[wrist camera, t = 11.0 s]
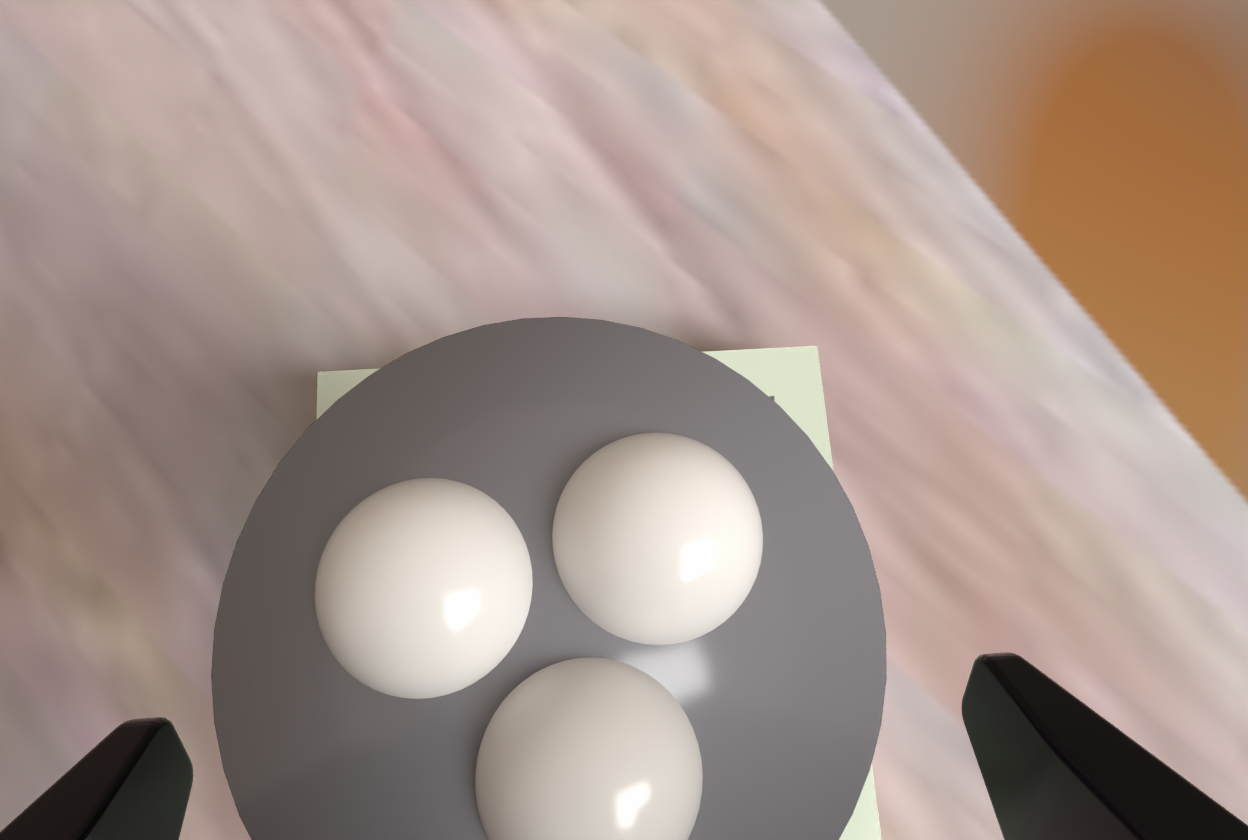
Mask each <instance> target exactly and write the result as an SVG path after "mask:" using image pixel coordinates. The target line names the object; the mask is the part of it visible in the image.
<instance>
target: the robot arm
mask: <svg viewBox="0 0 1248 840" xmlns="http://www.w3.org/2000/svg"><path fill="white" fill-rule="evenodd" d="M962 716H963V720H964V724H965V727H966V730H967V733H968V735H969V738H970V741H971V744H972V747H973V750H974V753H975V756H976V759H977V762H978V765H979V767H980V770H981V773H982V776H983V779H984V782H985V785H986V788H987V791H988V794H989V797H990V799H991V802H992V805H993V808H994V811H995V814H996V817H997V820H998V823H999V826H1000V829H1001V831H1002V834H1003V837H1004V840H1248V825H1246V824H1245V823H1244V822H1242V821H1241V820H1240V819H1238V818H1237V817H1236V816H1234V815H1233V814H1232V813H1230V812H1229V811H1228V810H1226V809H1225V808H1224V807H1222V806H1221V805H1220V804H1218V803H1217V802H1216V801H1214V800H1213V799H1212V798H1210V797H1209V796H1208V795H1206V794H1205V793H1204V792H1202V791H1201V790H1199V789H1198V788H1197V787H1195V786H1194V785H1193V784H1191V783H1190V782H1189V781H1187V780H1186V779H1185V778H1183V777H1182V776H1181V775H1179V774H1178V773H1177V772H1175V771H1174V770H1173V769H1171V768H1170V767H1169V766H1167V765H1166V764H1165V763H1163V762H1162V761H1161V760H1159V759H1158V758H1157V757H1155V756H1154V755H1153V754H1151V753H1150V752H1148V751H1147V750H1146V749H1144V748H1143V747H1142V746H1140V745H1139V744H1138V743H1136V742H1135V741H1134V740H1132V739H1131V738H1130V737H1128V736H1127V735H1126V734H1124V733H1123V732H1122V731H1120V730H1119V729H1118V728H1116V727H1115V726H1114V725H1112V724H1111V723H1110V722H1108V721H1107V720H1106V719H1104V718H1103V717H1101V716H1100V715H1099V714H1097V713H1096V712H1095V711H1093V710H1092V709H1091V708H1089V707H1088V706H1087V705H1085V704H1084V703H1083V702H1081V701H1080V700H1079V699H1077V698H1076V697H1075V696H1073V695H1072V694H1071V693H1069V692H1068V691H1067V690H1065V689H1064V688H1063V687H1061V686H1060V685H1059V684H1057V683H1056V682H1054V681H1053V680H1052V679H1050V678H1049V677H1048V676H1046V675H1045V674H1044V673H1042V672H1041V671H1040V670H1038V669H1037V668H1036V667H1034V666H1033V665H1032V664H1030V663H1029V662H1028V661H1026V660H1025V659H1024V658H1022V657H1021V656H1019V655H1017V654H1014V653H1007V652H1006V653H993V654H983V655H980V656H979V657H978V658H977V659H976V660H975V662H974V664H973V667H972V670H971V674H970V677H969V680H968V683H967V686H966V689H965V693H964V696H963V699H962ZM192 782H193V768H192V763H191V760H190V758H189V756H188V754H187V752H186V750H185V748H184V746H183V744H182V742H181V740H180V738H179V736H178V734H177V732H176V730H175V728H174V726H173V724H172V723H171V721H169V720H167V719H166V718H162V717H158V718H145V719H134V720H129V721H126V722H124V723H123V724H121V725H120V726H118V727H117V728H116V729H115V730H113V731H112V732H111V733H110V734H109V735H108V736H107V737H106V738H105V739H103V740H102V741H101V742H100V743H99V744H98V745H97V746H96V747H95V748H93V749H92V750H91V751H90V752H89V753H88V754H87V755H86V756H84V757H83V758H82V759H81V760H80V761H79V762H78V763H77V764H76V765H74V766H73V767H72V768H71V769H70V770H69V771H68V772H67V773H66V774H64V775H63V776H62V777H61V778H60V779H59V780H58V781H57V782H56V783H54V784H53V785H52V786H51V787H50V788H49V789H48V790H47V791H45V792H44V793H43V794H42V795H41V796H40V797H39V798H38V799H37V800H35V801H34V802H33V803H32V804H31V805H30V806H29V807H28V808H27V809H25V810H24V811H23V812H22V813H21V814H20V815H19V816H18V817H17V818H15V819H14V820H13V821H12V822H11V823H10V824H9V825H8V826H6V827H5V828H4V829H3V830H2V831H1V832H0V840H179V836H180V832H181V828H182V824H183V820H184V816H185V812H186V808H187V804H188V800H189V795H190V791H191V787H192Z"/></svg>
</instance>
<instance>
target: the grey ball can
mask: <svg viewBox="0 0 1248 840" xmlns="http://www.w3.org/2000/svg"><path fill="white" fill-rule="evenodd" d="M211 679H212V694H213V709H214V724H215V729H216V734H217V739H218V744H219V749H220V754H221V759H222V764H223V769H224V772H225V775H226V778H227V781H228V784H229V787H230V790H231V793H232V796H233V798H234V801H235V804H236V807H237V810H238V813H239V816H240V818H241V820H242V822H243V824H244V825H245V827H246V829H247V831H248V833H249V835H250V837H251V839H252V840H839V838H840V837H841V835H842V833H843V831H844V829H845V827H846V826H847V824H848V822H849V820H850V818H851V816H852V815H853V812H854V810H855V807H856V805H857V802H858V799H859V797H860V794H861V792H862V789H863V786H864V784H865V781H866V779H867V776H868V774H869V771H870V767H871V763H872V759H873V755H874V751H875V747H876V743H877V739H878V735H879V731H880V727H881V721H882V712H883V704H884V695H885V686H886V630H885V623H884V615H883V608H882V600H881V593H880V587H879V583H878V580H877V576H876V572H875V568H874V565H873V561H872V557H871V553H870V549H869V546H868V543H867V541H866V538H865V536H864V534H863V531H862V529H861V526H860V524H859V521H858V519H857V516H856V514H855V511H854V509H853V506H852V504H851V503H850V501H849V499H848V497H847V495H846V494H845V492H844V490H843V488H842V486H841V485H840V483H839V481H838V479H837V477H836V476H835V474H834V472H833V470H832V469H831V467H830V466H829V464H828V463H827V462H826V460H825V459H824V458H823V456H822V455H821V453H820V452H819V451H818V449H817V448H816V447H815V445H814V444H813V442H812V441H811V440H810V438H809V437H808V436H807V435H806V433H805V432H804V431H803V430H802V429H801V428H800V427H799V426H798V425H797V424H796V423H795V422H794V421H793V420H792V418H791V417H790V416H789V415H788V414H787V413H786V412H785V411H784V410H783V409H782V408H781V407H780V406H779V405H778V404H777V403H776V402H775V401H773V400H772V399H771V398H770V397H769V396H767V395H766V394H765V393H764V392H763V391H761V390H760V389H759V388H758V387H757V386H755V385H754V384H753V383H752V382H751V381H749V380H748V379H747V378H745V377H743V376H742V375H740V374H739V373H737V372H736V371H734V370H733V369H731V368H729V367H728V366H726V365H725V364H723V363H722V362H720V361H719V360H717V359H715V358H714V357H712V356H709V355H707V354H705V353H703V352H701V351H699V350H697V349H695V348H693V347H691V346H689V345H687V344H684V343H682V342H680V341H678V340H675V339H672V338H669V337H666V336H663V335H660V334H657V333H654V332H651V331H648V330H645V329H642V328H639V327H634V326H629V325H624V324H619V323H614V322H609V321H604V320H595V319H582V318H569V317H551V318H529V319H518V320H512V321H506V322H501V323H495V324H489V325H483V326H479V327H476V328H473V329H469V330H466V331H463V332H459V333H456V334H453V335H449V336H446V337H443V338H441V339H438V340H436V341H434V342H431V343H429V344H427V345H425V346H422V347H420V348H418V349H415V350H413V351H411V352H408V353H406V354H405V355H403V356H401V357H399V358H398V359H396V360H394V361H393V362H391V363H389V364H388V365H386V366H384V367H382V368H381V369H379V370H377V371H376V372H374V373H372V374H371V375H369V376H368V377H367V378H365V379H364V380H363V381H361V382H360V383H359V384H357V385H356V386H355V387H353V388H352V389H351V390H350V391H348V392H347V393H346V394H344V395H343V396H342V397H340V398H339V399H338V400H337V401H336V402H335V403H333V404H332V405H331V406H330V407H329V408H328V409H327V410H326V411H325V412H324V413H323V414H322V415H321V416H320V417H319V418H318V419H317V420H316V421H315V422H314V423H313V424H312V425H311V426H310V427H309V428H308V429H307V430H306V431H305V432H304V433H303V435H302V436H301V437H300V438H299V440H298V441H297V442H296V443H295V445H294V446H293V447H292V448H291V450H290V451H289V452H288V453H287V455H286V456H285V457H284V458H283V459H282V461H281V462H280V463H279V465H278V466H277V468H276V470H275V471H274V473H273V474H272V476H271V478H270V479H269V481H268V482H267V484H266V486H265V487H264V489H263V490H262V492H261V494H260V495H259V497H258V498H257V500H256V502H255V504H254V506H253V508H252V510H251V513H250V515H249V517H248V519H247V521H246V523H245V525H244V528H243V530H242V532H241V534H240V536H239V538H238V540H237V543H236V546H235V549H234V552H233V555H232V558H231V561H230V565H229V568H228V571H227V574H226V577H225V580H224V583H223V587H222V592H221V598H220V603H219V608H218V613H217V618H216V624H215V629H214V643H213V658H212V674H211Z"/></svg>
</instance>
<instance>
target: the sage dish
mask: <svg viewBox="0 0 1248 840" xmlns="http://www.w3.org/2000/svg"><path fill="white" fill-rule="evenodd" d="M703 353H705V354H707V355H709V356H712V357H714V358H715V359H717V360H719V361H720V362H722V363H723V364H725V365H726V366H728V367H729V368H731V369H733V370H734V371H736V372H737V373H739V374H740V375H742V376H743V377H745V378H747V379H748V380H749V381H751V382H752V383H753V384H754V385H755V386H757V387H758V388H759V389H760V390H761V391H763V392H764V393H765V394H766V395H767V396H769V397H770V398H771V399H772V400H773V401H775V402H776V403H777V404H778V405H779V406H780V407H781V408H782V409H783V410H784V411H785V412H786V413H787V414H788V415H789V416H790V417H791V418H792V420H793V421H794V422H795V423H796V424H797V425H798V426H799V427H800V428H801V429H802V430H803V431H804V432H805V433H806V435H807V436H808V437H809V438H810V440H811V441H812V442H813V444H814V445H815V447H816V448H817V449H818V451H819V452H820V453H821V455H822V456H823V458H824V459H825V460H826V462H827V463H828V464H829V466H830V467H831V469H832V470H833V464H832V456H831V449H830V441H829V433H828V426H827V418H826V411H825V403H824V395H823V388H822V380H821V372H820V365H819V357H818V349H817V346H802V347H783V348H764V349H744V350H725V351H706V352H703ZM379 369H381V368H378V369H359V370H340V371H321V372H317V417H316V420H317V419H318V418H319V417H320V416H321V415H322V414H323V413H324V412H325V411H326V410H327V409H328V408H329V407H330V406H331V405H332V404H333V403H335V402H336V401H337V400H338V399H339V398H340V397H342V396H343V395H344V394H346V393H347V392H348V391H350V390H351V389H352V388H353V387H355V386H356V385H357V384H359V383H360V382H361V381H363V380H364V379H365V378H367V377H368V376H369V375H371V374H372V373H374V372H376V371H377V370H379ZM839 840H882V839H881V831H880V824H879V816H878V808H877V801H876V793H875V785H874V778H873V770H872V763H871V767H870V771H869V774H868V776H867V779H866V781H865V784H864V786H863V789H862V792H861V794H860V797H859V799H858V802H857V805H856V807H855V810H854V812H853V815H852V816H851V818H850V820H849V822H848V824H847V826H846V827H845V829H844V831H843V833H842V835H841V837H840V838H839Z"/></svg>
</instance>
